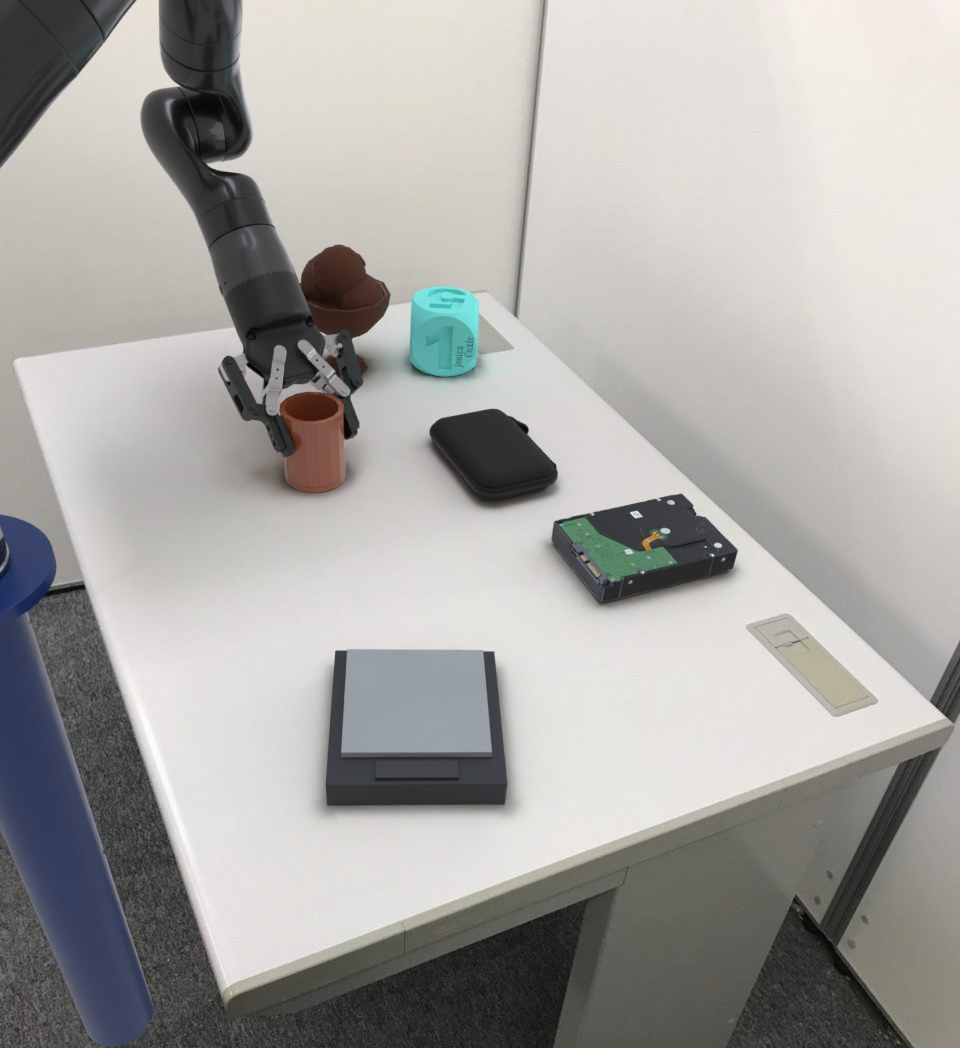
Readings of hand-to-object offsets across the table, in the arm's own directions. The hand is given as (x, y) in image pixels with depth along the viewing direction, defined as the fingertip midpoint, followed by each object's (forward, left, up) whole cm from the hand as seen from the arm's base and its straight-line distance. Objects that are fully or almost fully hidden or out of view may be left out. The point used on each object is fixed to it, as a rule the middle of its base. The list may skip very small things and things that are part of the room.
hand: (321, 445), depth 100 cm
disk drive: (+31, -12, -5) cm, 34 cm away
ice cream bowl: (+1, +25, -5) cm, 26 cm away
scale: (+9, -35, -5) cm, 36 cm away
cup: (-1, +1, -5) cm, 5 cm away
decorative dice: (+13, +27, -5) cm, 31 cm away
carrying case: (+18, +4, -5) cm, 19 cm away
